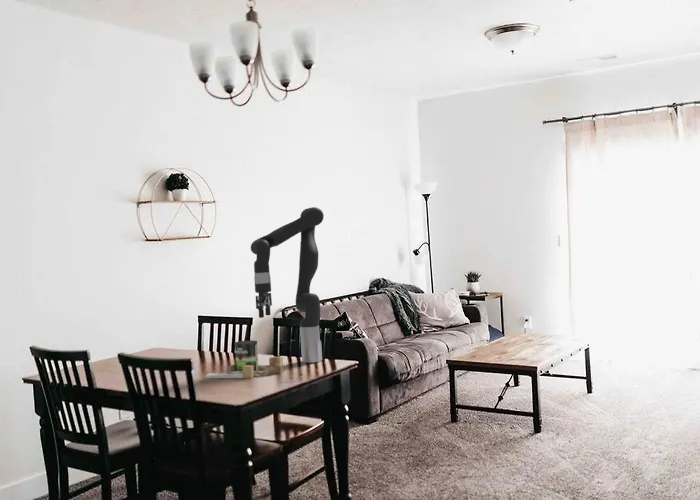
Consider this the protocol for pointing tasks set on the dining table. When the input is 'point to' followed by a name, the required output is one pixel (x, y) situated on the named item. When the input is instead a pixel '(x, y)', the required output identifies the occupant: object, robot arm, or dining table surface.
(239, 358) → the coffee can
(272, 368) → the frame
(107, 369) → the dining table surface
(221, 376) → the empty strip
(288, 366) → the dining table surface
